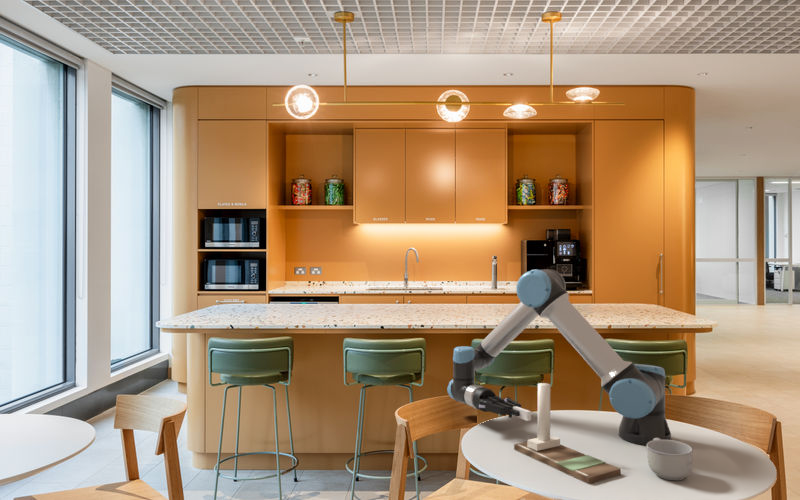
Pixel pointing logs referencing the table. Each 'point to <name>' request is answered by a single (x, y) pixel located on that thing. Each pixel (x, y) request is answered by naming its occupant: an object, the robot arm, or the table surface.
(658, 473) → the teacup
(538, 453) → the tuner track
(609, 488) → the table surface
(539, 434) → the tuning slider
